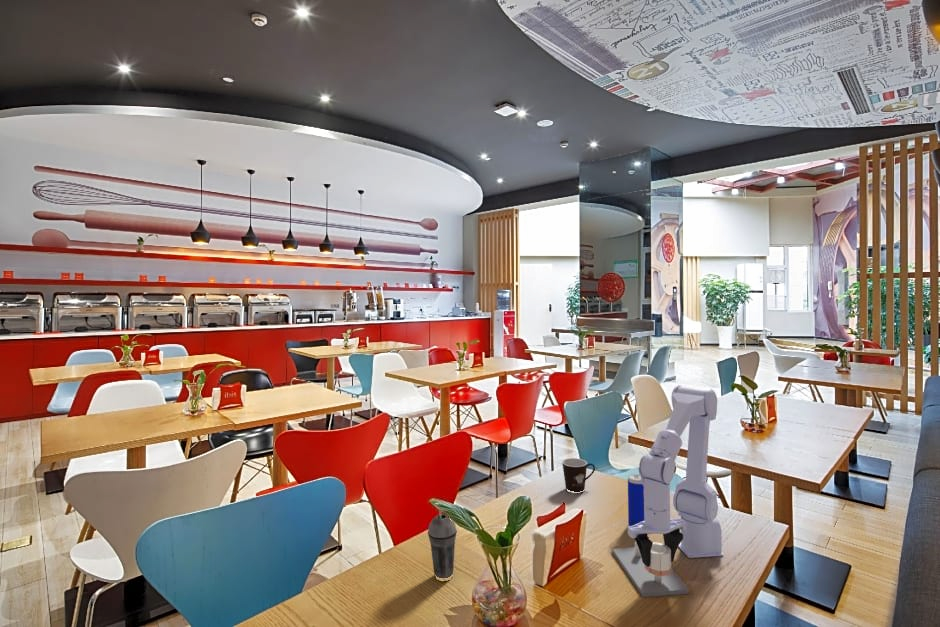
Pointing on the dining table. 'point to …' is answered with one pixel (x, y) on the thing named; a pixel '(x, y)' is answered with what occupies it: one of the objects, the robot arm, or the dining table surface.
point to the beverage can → (635, 500)
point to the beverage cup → (442, 545)
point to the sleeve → (659, 560)
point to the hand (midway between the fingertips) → (657, 562)
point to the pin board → (648, 575)
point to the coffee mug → (575, 473)
